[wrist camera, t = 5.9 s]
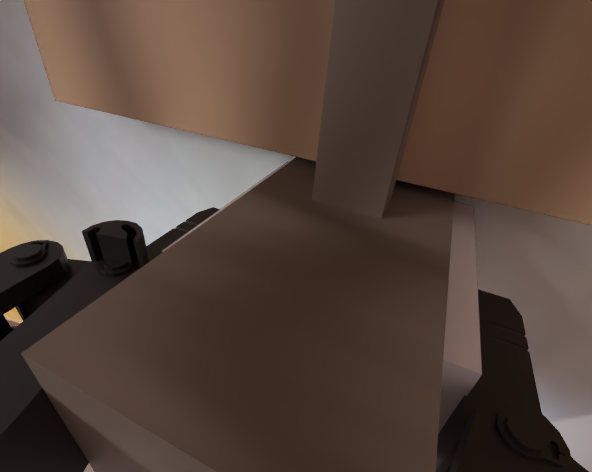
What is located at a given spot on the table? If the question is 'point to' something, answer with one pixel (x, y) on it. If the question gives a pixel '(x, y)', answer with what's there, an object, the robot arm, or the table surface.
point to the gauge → (284, 300)
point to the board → (312, 77)
